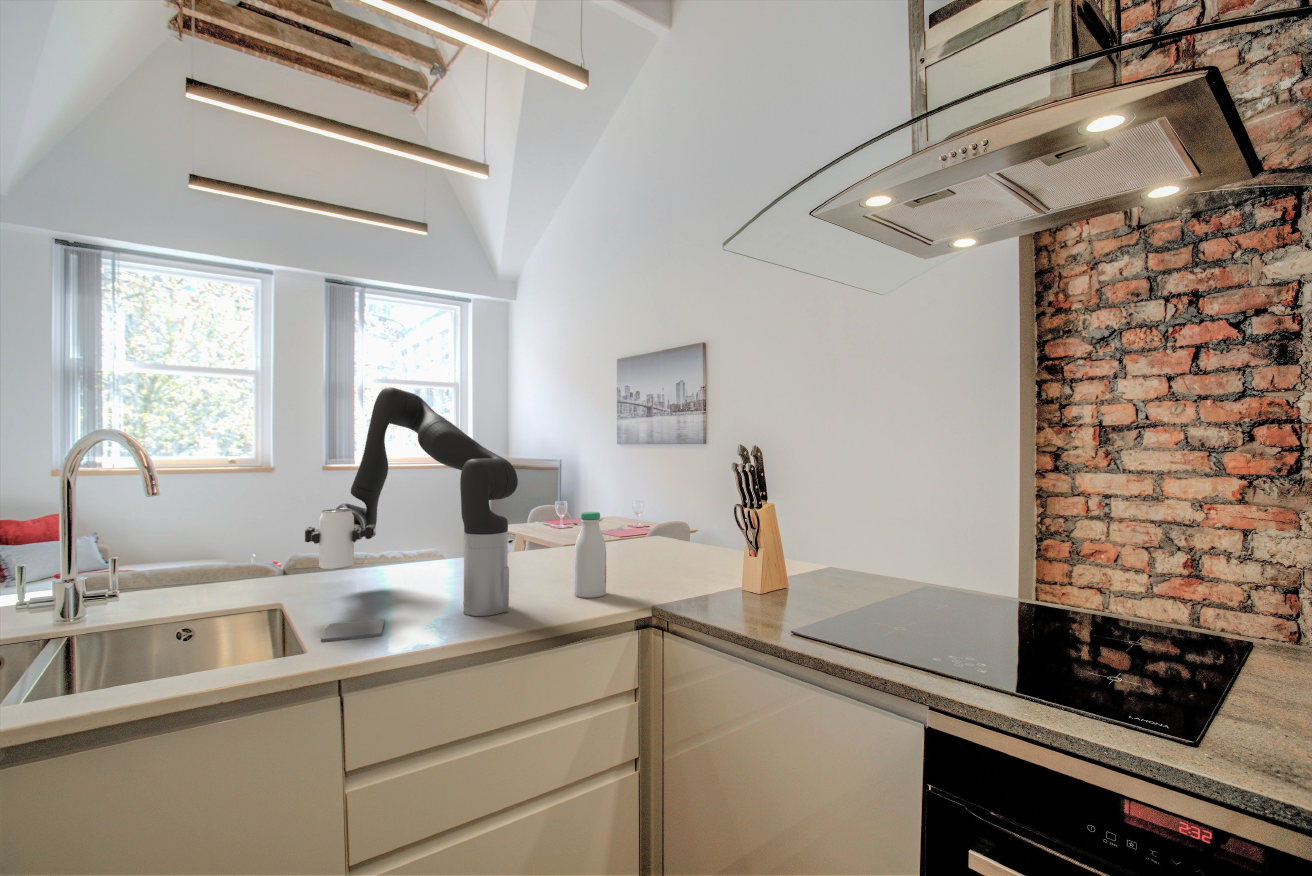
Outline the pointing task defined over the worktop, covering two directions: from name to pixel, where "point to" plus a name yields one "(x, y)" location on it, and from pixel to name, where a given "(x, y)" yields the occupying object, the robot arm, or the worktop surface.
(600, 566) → the milk bottle
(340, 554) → the can
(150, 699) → the worktop surface
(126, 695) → the worktop surface
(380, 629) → the coaster
